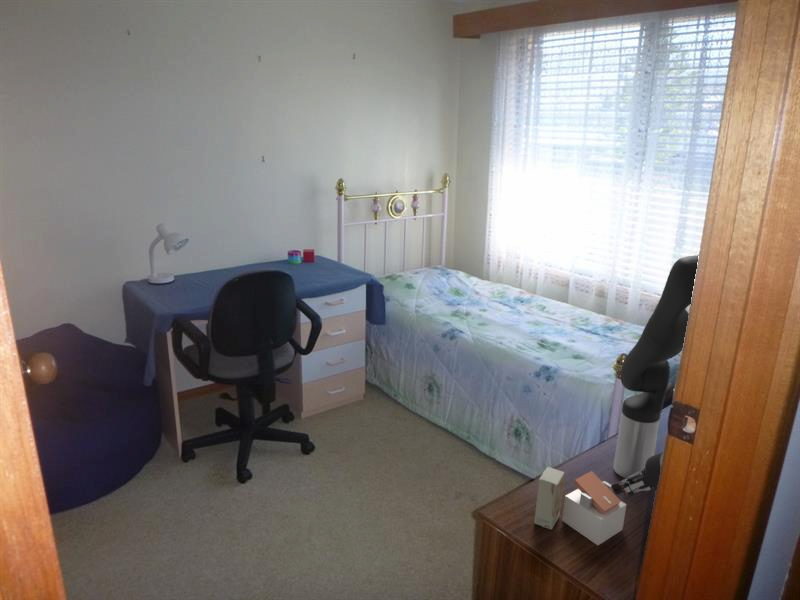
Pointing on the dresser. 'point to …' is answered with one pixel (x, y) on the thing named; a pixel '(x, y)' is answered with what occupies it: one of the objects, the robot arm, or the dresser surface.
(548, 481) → the skincare box
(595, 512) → the switch box
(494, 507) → the dresser surface
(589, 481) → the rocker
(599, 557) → the dresser surface
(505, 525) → the dresser surface
